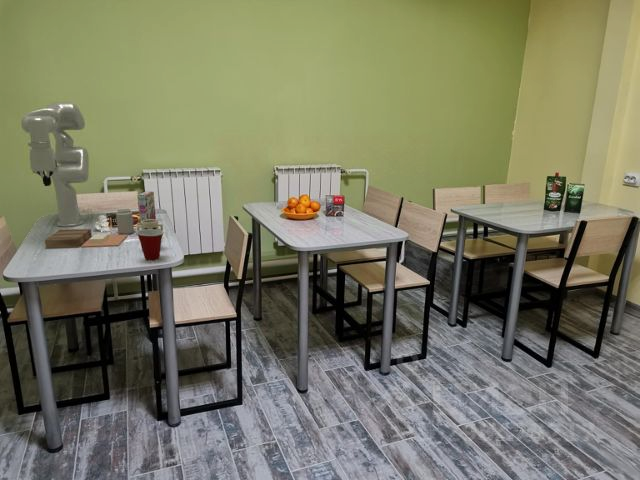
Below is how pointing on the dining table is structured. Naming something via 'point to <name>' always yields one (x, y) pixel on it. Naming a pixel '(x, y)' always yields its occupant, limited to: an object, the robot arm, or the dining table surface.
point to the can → (125, 221)
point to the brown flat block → (68, 238)
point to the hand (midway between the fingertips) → (47, 185)
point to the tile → (99, 238)
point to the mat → (107, 241)
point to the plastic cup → (150, 243)
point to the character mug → (150, 224)
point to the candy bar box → (146, 206)
